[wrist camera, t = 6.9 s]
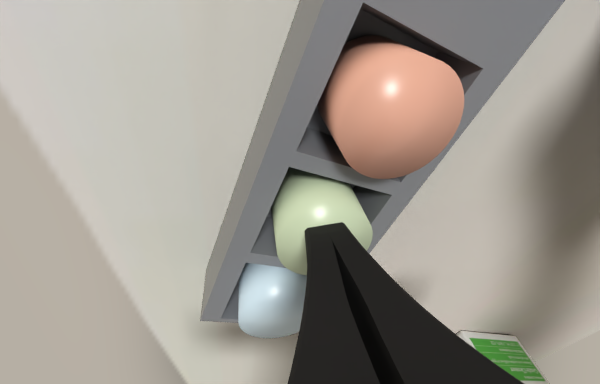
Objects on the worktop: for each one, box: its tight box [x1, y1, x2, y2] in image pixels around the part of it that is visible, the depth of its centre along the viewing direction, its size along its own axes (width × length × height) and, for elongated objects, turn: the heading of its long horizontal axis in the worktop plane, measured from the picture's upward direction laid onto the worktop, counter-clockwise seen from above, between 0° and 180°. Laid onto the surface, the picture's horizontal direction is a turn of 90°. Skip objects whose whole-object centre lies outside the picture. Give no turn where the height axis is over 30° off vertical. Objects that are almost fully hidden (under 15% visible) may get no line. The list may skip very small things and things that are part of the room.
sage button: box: [271, 167, 373, 275], centre depth 11 cm, size 4×4×3 cm
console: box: [200, 0, 565, 323], centre depth 11 cm, size 6×20×3 cm, turn 157°
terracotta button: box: [317, 35, 464, 179], centre depth 9 cm, size 4×4×3 cm
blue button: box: [238, 263, 307, 338], centre depth 14 cm, size 4×4×3 cm
